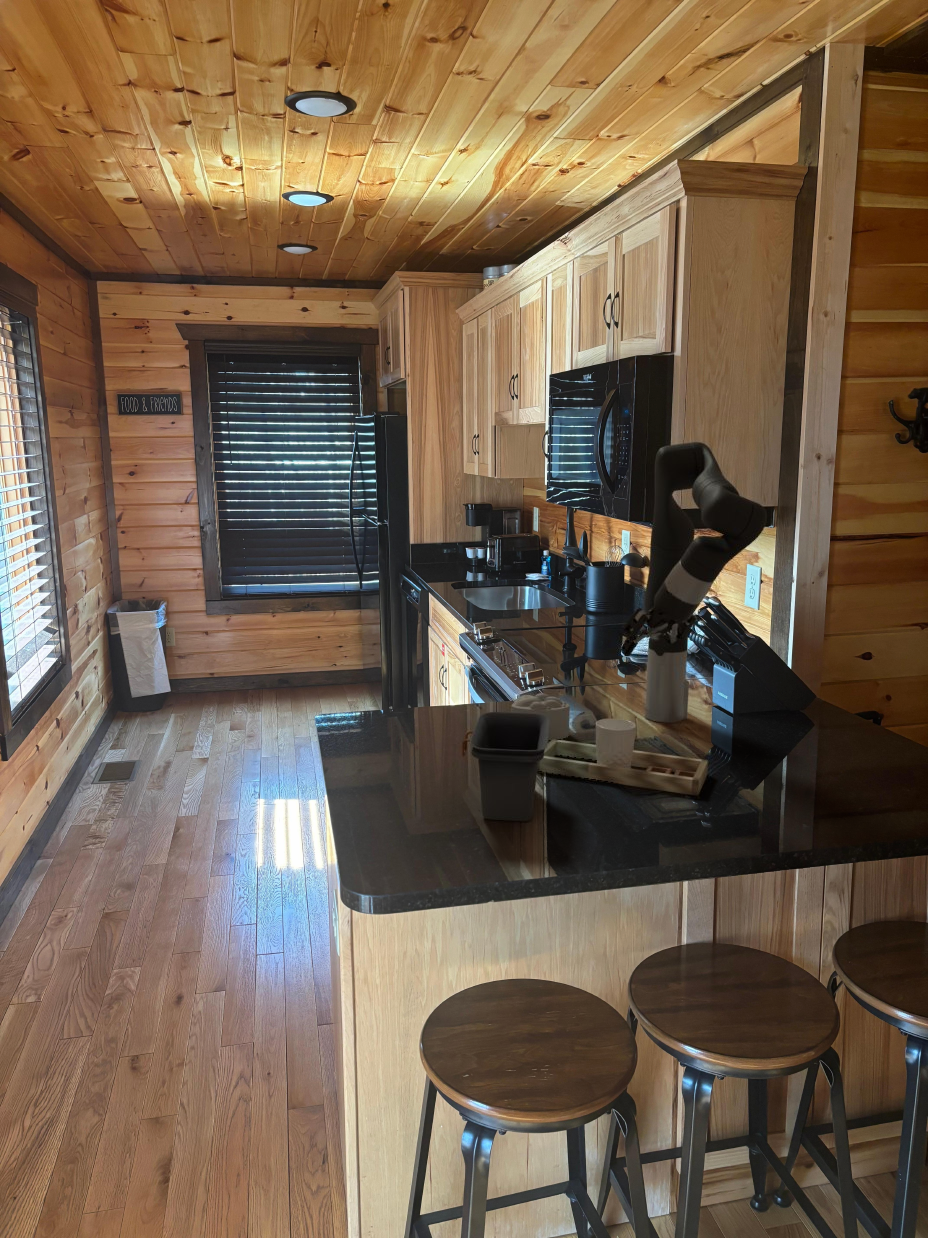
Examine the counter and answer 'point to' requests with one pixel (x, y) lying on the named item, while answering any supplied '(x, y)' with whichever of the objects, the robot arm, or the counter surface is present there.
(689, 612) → the robot arm
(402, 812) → the counter surface
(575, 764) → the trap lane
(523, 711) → the lumpy-topped squat cylinder
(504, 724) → the storage bin
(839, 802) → the counter surface
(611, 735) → the white cup
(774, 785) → the counter surface
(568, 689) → the counter surface
